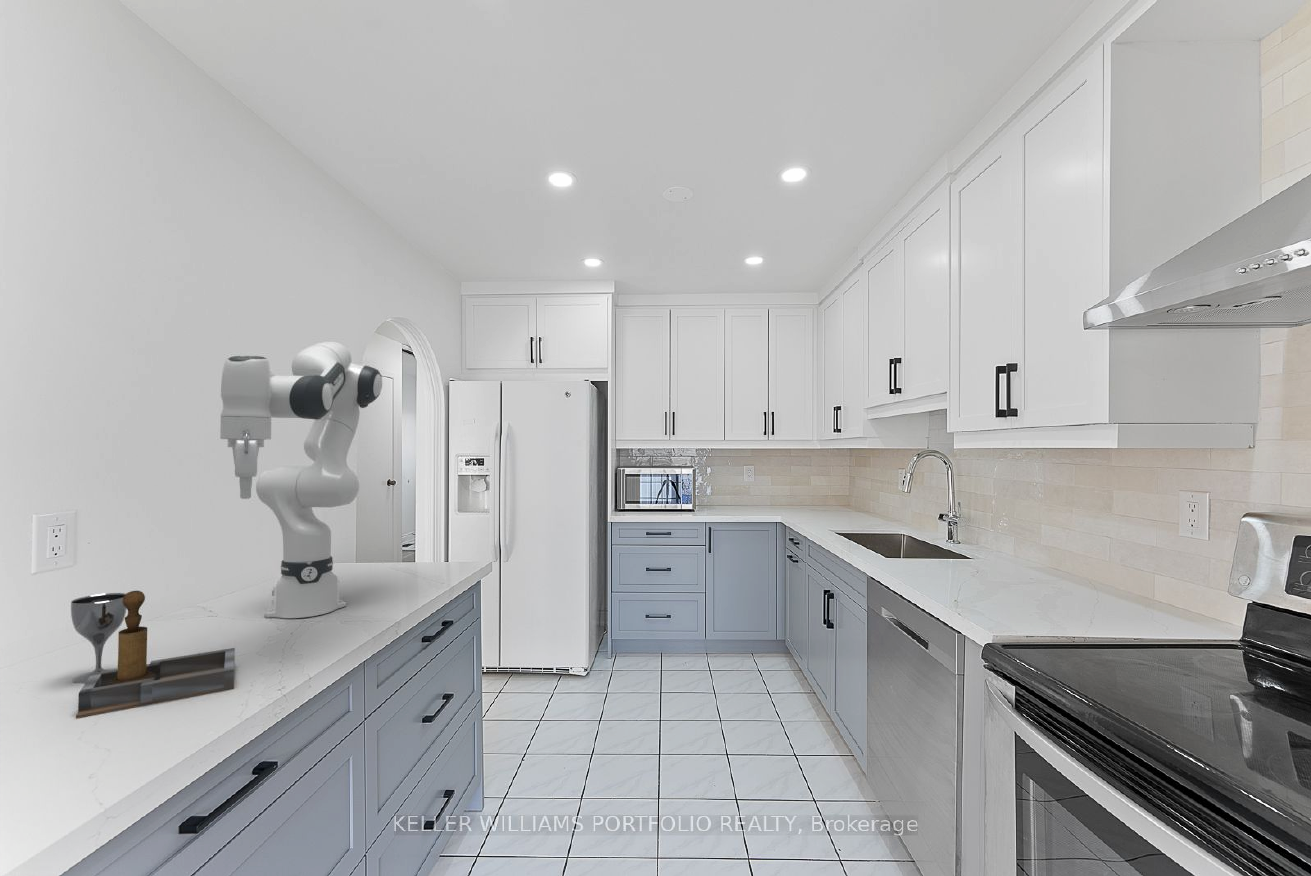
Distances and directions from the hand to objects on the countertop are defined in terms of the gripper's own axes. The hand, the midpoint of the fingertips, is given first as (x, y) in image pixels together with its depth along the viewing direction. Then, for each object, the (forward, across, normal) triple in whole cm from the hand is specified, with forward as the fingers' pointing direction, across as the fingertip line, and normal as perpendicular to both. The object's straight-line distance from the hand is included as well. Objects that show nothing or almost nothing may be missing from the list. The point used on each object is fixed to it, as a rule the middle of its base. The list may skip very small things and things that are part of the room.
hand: (245, 496), depth 124 cm
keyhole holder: (+34, -11, +12) cm, 38 cm away
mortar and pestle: (+34, -11, +16) cm, 39 cm away
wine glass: (+34, +4, +23) cm, 41 cm away
